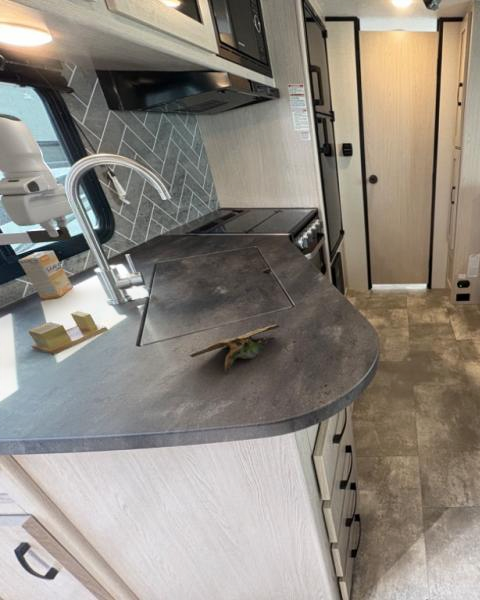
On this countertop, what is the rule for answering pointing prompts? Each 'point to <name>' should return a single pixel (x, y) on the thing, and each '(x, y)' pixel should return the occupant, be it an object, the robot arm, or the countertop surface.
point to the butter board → (75, 338)
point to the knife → (33, 236)
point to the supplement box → (46, 274)
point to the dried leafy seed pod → (239, 347)
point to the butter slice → (84, 320)
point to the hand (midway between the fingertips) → (60, 234)
